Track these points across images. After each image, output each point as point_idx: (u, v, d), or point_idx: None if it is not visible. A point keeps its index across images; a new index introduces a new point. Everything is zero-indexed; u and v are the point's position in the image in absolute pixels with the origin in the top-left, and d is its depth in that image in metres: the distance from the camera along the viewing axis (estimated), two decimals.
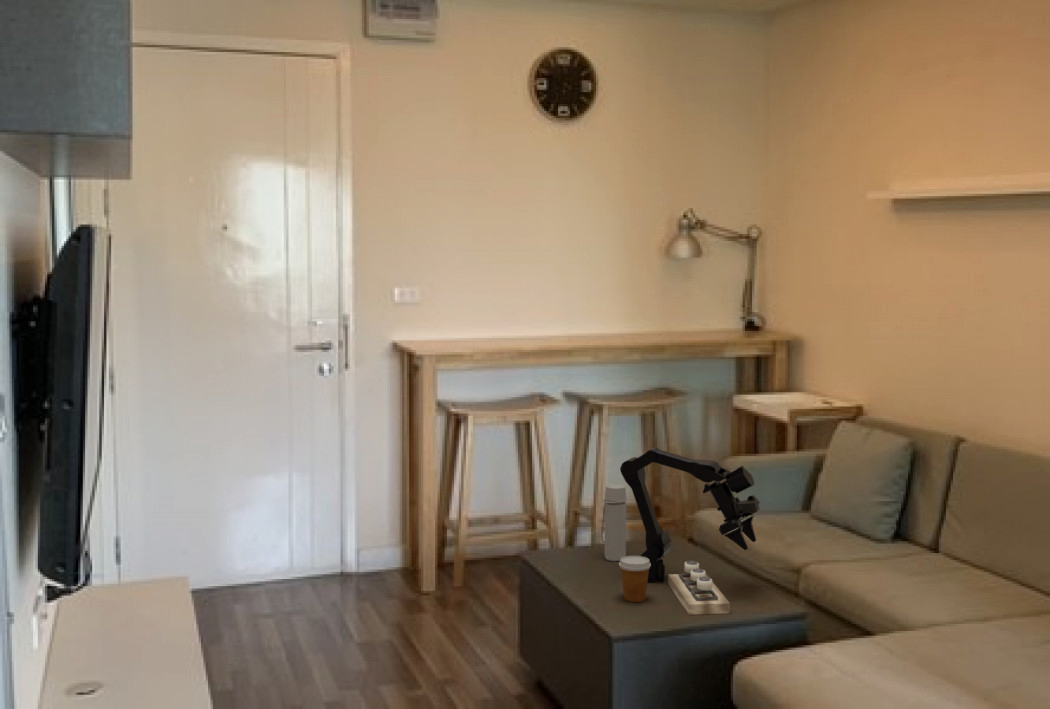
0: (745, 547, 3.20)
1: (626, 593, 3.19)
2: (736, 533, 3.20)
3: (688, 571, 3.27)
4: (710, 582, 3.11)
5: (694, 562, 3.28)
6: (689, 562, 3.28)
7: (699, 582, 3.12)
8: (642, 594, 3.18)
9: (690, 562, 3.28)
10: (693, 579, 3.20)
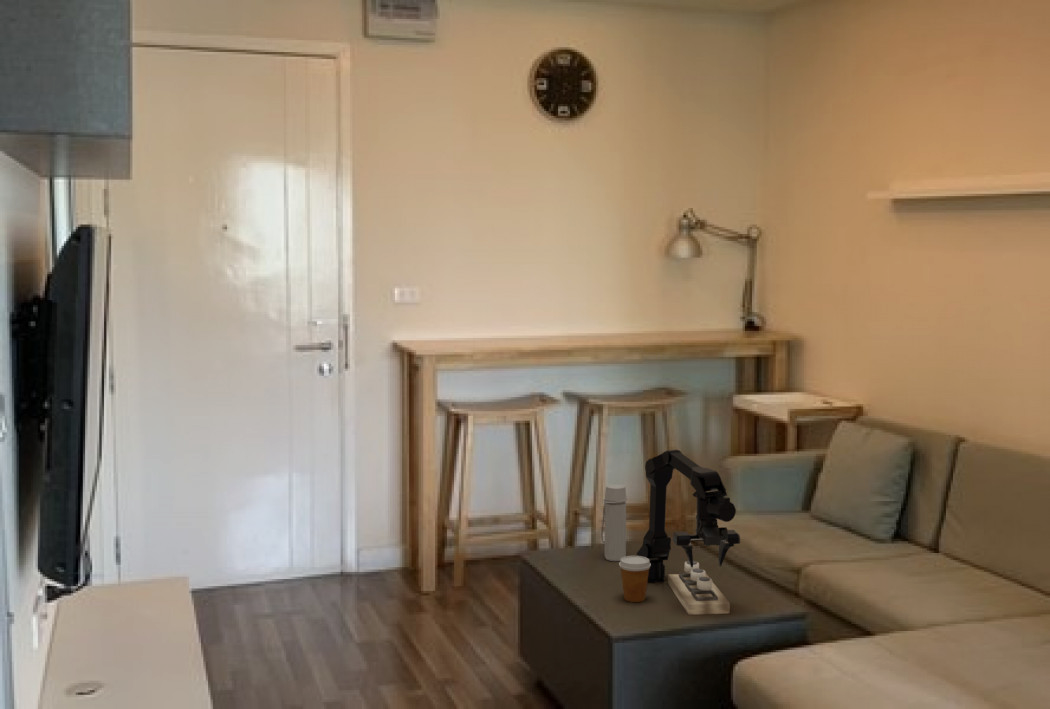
0: (690, 564, 3.12)
1: (626, 593, 3.19)
2: None
3: (688, 571, 3.27)
4: (710, 582, 3.11)
5: (694, 562, 3.28)
6: None
7: (699, 582, 3.12)
8: (642, 594, 3.18)
9: None
10: (693, 579, 3.20)
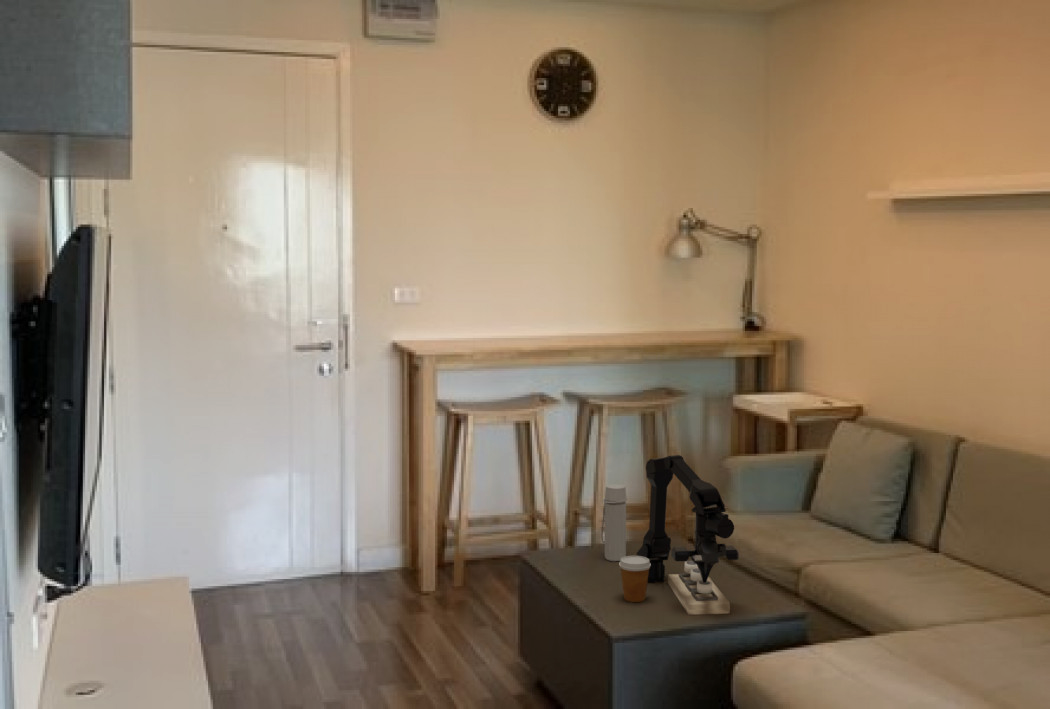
0: (702, 579, 3.13)
1: (626, 593, 3.19)
2: None
3: (688, 571, 3.27)
4: (710, 585, 3.11)
5: None
6: (689, 562, 3.28)
7: (699, 585, 3.12)
8: (642, 594, 3.18)
9: (690, 562, 3.28)
10: (693, 579, 3.20)
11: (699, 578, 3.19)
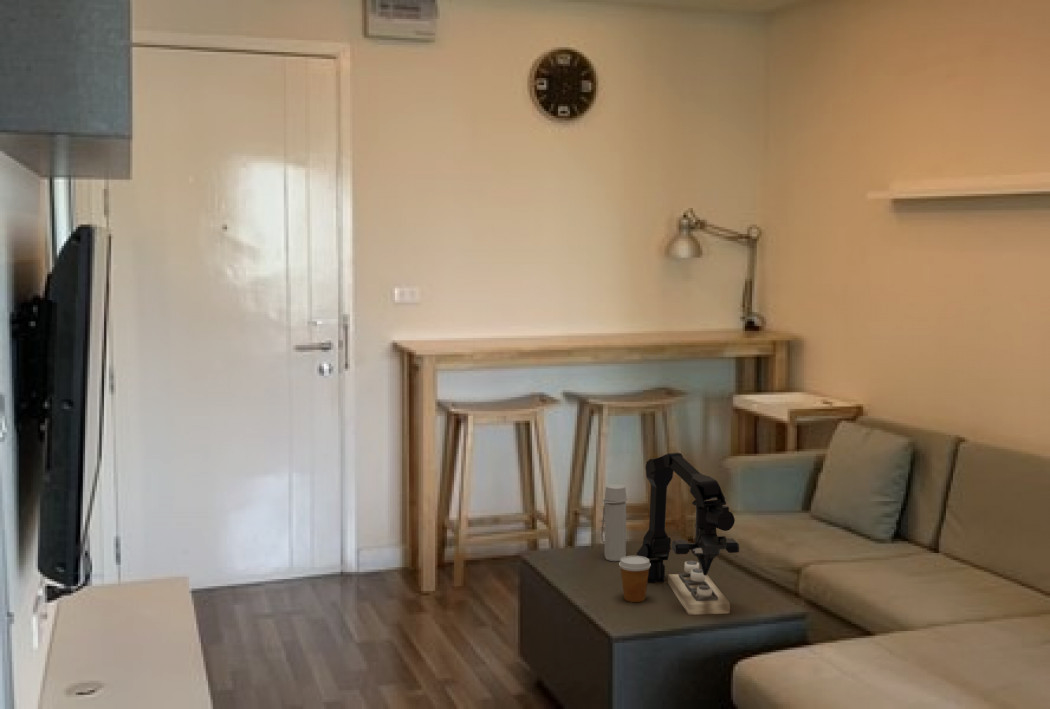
0: (703, 572, 3.12)
1: (626, 593, 3.19)
2: None
3: (688, 571, 3.27)
4: (710, 591, 3.12)
5: (694, 562, 3.28)
6: (689, 562, 3.28)
7: (699, 591, 3.12)
8: (642, 594, 3.18)
9: (690, 562, 3.28)
10: (693, 579, 3.20)
11: (699, 578, 3.19)
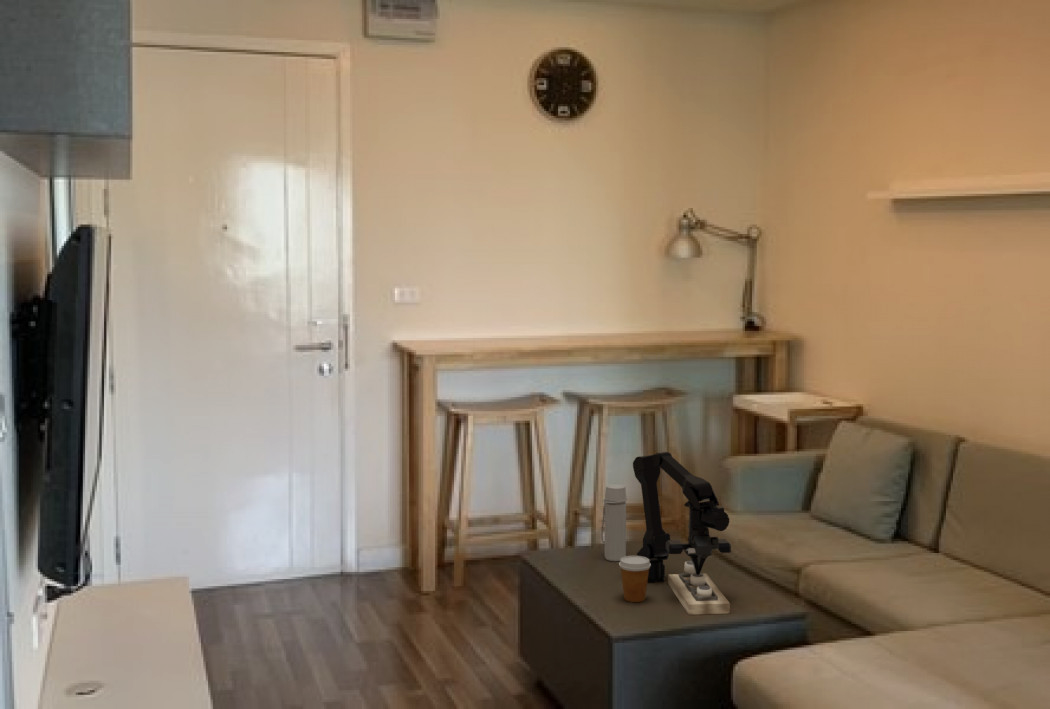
0: (696, 572, 3.21)
1: (626, 593, 3.19)
2: None
3: (688, 571, 3.27)
4: (710, 591, 3.12)
5: None
6: (689, 562, 3.28)
7: (699, 591, 3.12)
8: (642, 594, 3.18)
9: (690, 562, 3.28)
10: (693, 583, 3.20)
11: (699, 582, 3.19)
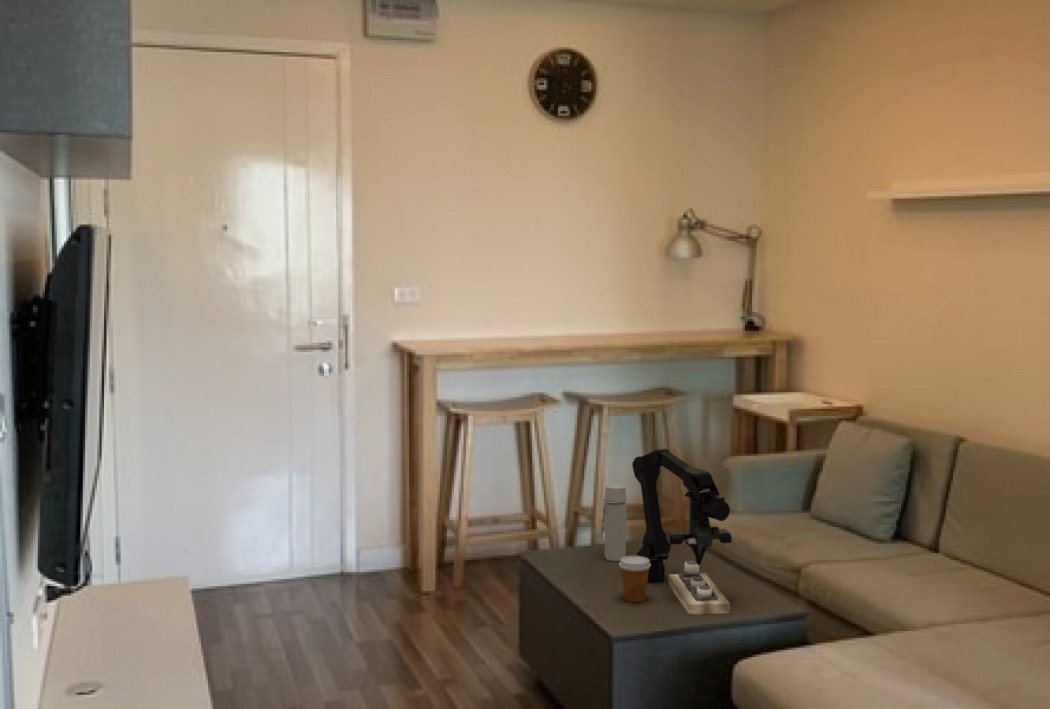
0: (696, 562, 3.20)
1: (626, 593, 3.19)
2: None
3: (688, 571, 3.27)
4: (710, 591, 3.12)
5: (694, 562, 3.28)
6: (689, 562, 3.28)
7: (699, 591, 3.12)
8: (642, 594, 3.18)
9: (690, 562, 3.28)
10: (693, 587, 3.20)
11: None
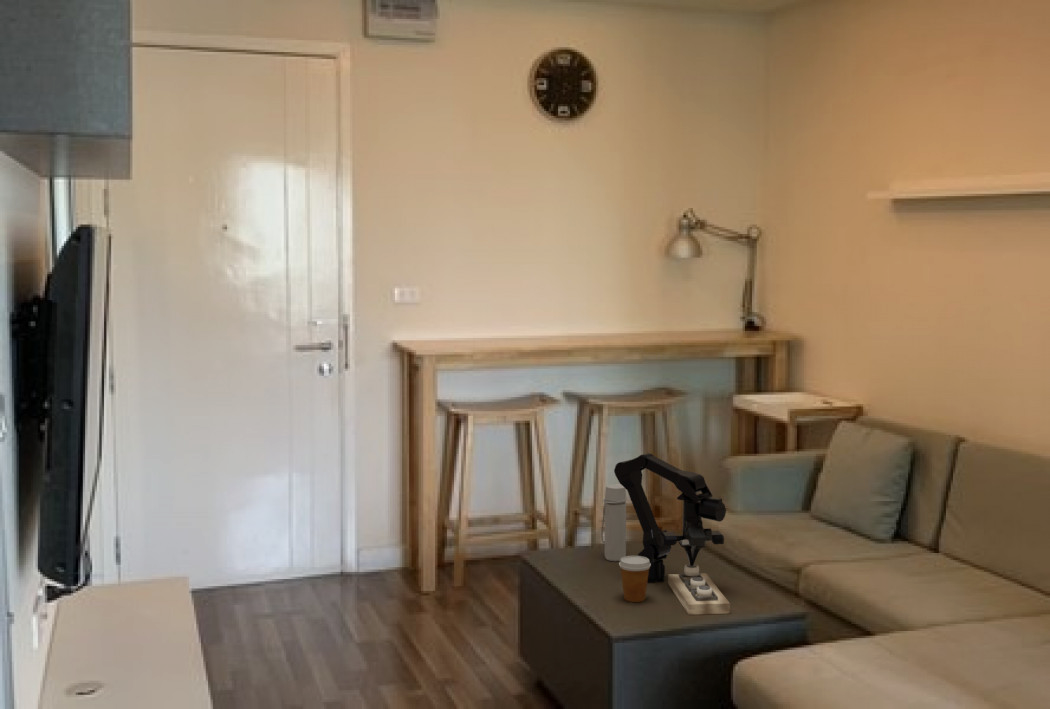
0: None
1: (626, 593, 3.19)
2: None
3: (688, 574, 3.27)
4: (710, 591, 3.12)
5: (694, 565, 3.29)
6: (689, 565, 3.29)
7: (699, 591, 3.12)
8: (642, 594, 3.18)
9: (690, 566, 3.28)
10: (693, 587, 3.20)
11: None
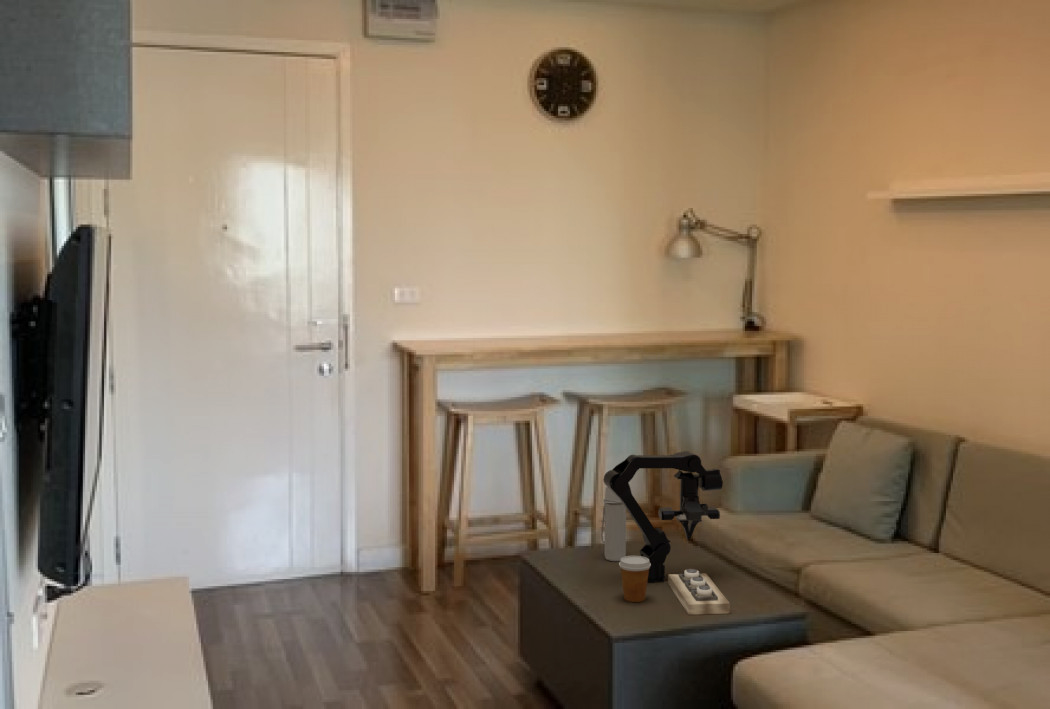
0: None
1: (626, 593, 3.19)
2: None
3: (688, 579, 3.27)
4: (710, 591, 3.12)
5: (694, 570, 3.29)
6: (689, 570, 3.29)
7: (699, 591, 3.12)
8: (642, 594, 3.18)
9: (690, 571, 3.28)
10: (693, 587, 3.20)
11: None
